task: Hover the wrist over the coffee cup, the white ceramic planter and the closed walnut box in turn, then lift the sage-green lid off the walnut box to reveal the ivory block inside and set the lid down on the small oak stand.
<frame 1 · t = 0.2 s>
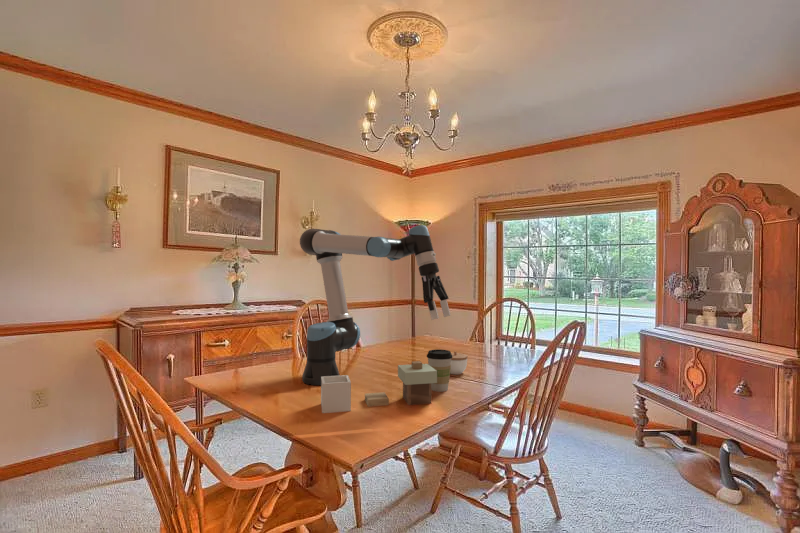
hand: (441, 317, 157), 28 cm above the table, tool tilted 15°, fingers open, 13 cm apart
walnut box: (416, 402, 143), on the table
ivory block: (416, 400, 143), point 1 cm above the table, touching walnut box
coffee cup: (439, 391, 156), on the table
lidded jar: (455, 373, 184), on the table
oak stand: (376, 404, 141), on the table
planter: (335, 409, 135), on the table
lid: (416, 379, 143), point 8 cm above the table, touching walnut box
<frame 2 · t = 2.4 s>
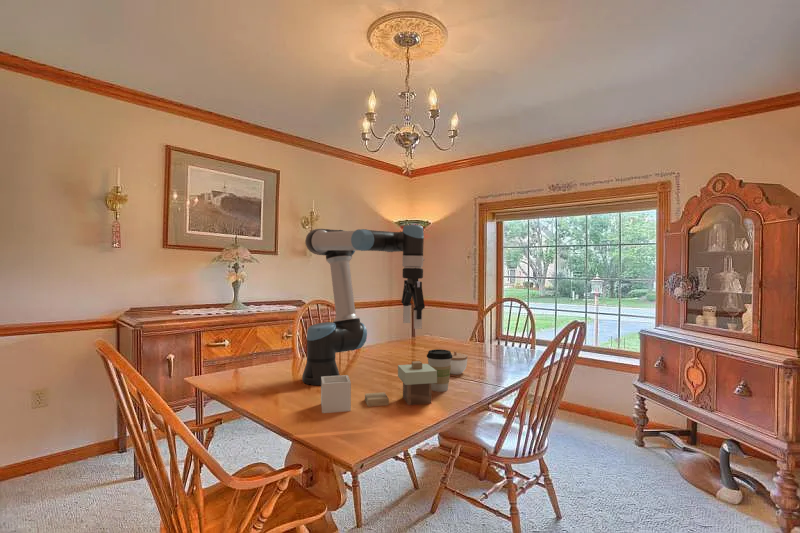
hand: (412, 325, 151), 26 cm above the table, tool pointing down, fingers open, 13 cm apart
nothing on the table moved.
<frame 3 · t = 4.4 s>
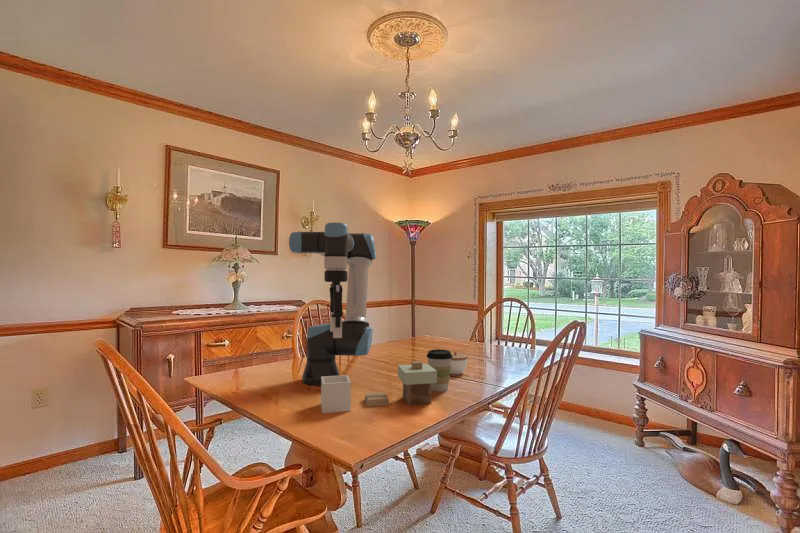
hand: (335, 334, 136), 25 cm above the table, tool pointing down, fingers open, 13 cm apart
nothing on the table moved.
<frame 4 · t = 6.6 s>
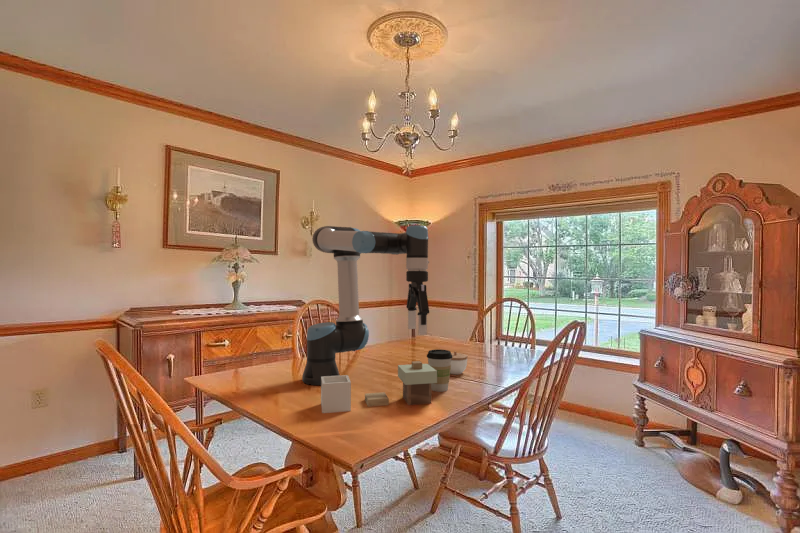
hand: (417, 331, 143), 25 cm above the table, tool pointing down, fingers open, 13 cm apart
nothing on the table moved.
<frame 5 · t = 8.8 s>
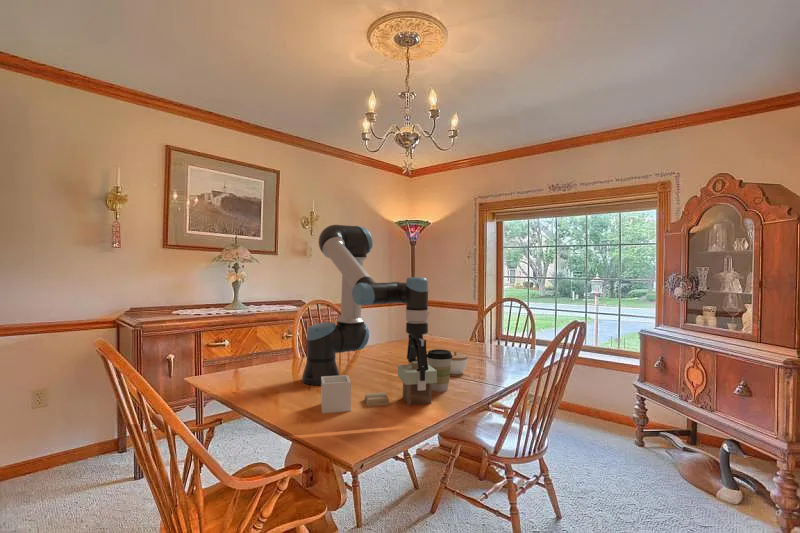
hand: (416, 385, 143), 6 cm above the table, tool pointing down, fingers closed on lid, 11 cm apart
lid: (416, 379, 143), point 8 cm above the table, touching gripper, walnut box
everything else where it was.
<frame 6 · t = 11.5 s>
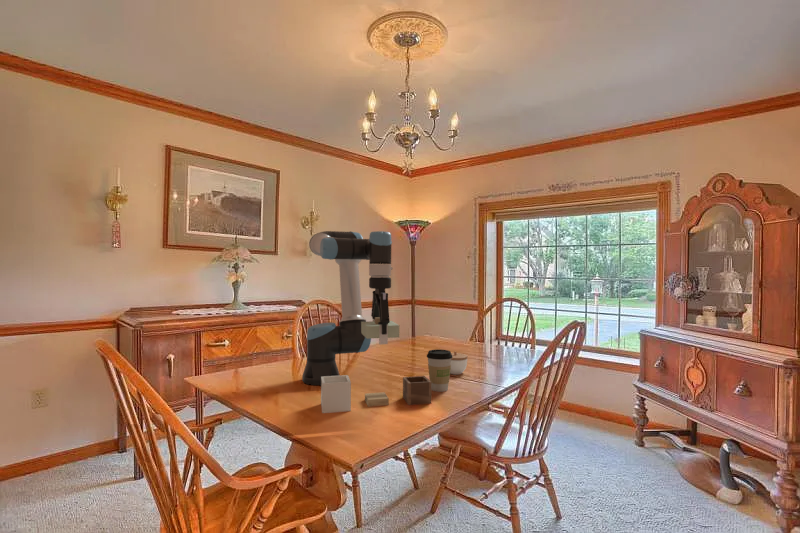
hand: (379, 340, 141), 22 cm above the table, tool pointing down, fingers closed on lid, 11 cm apart
lid: (379, 335, 141), point 24 cm above the table, touching gripper
everything else where it was.
when the fingers open (2 cm above the table, at t = 14.5 s): lid stays where it is, resting on oak stand.
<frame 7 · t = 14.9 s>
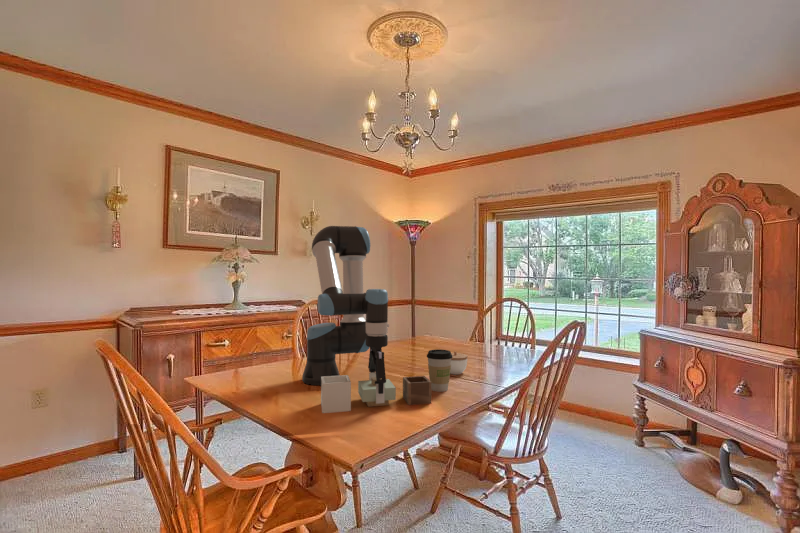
hand: (376, 396, 141), 3 cm above the table, tool pointing down, fingers open, 13 cm apart
lid: (376, 395, 141), point 3 cm above the table, touching oak stand
everything else where it was.
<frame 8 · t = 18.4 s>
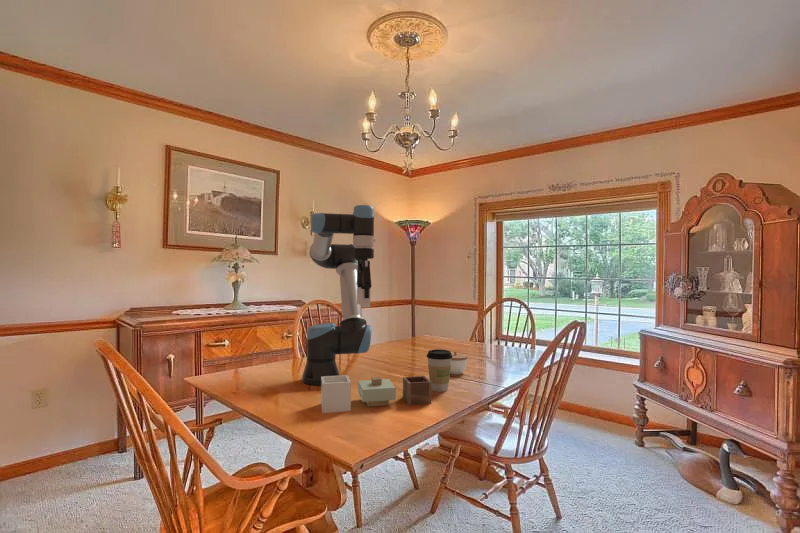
hand: (363, 306, 151), 33 cm above the table, tool pointing down, fingers open, 13 cm apart
nothing on the table moved.
at the end: lid inside the target area on the oak stand (0.0 cm from its centre), point 3.0 cm above the oak stand's base; lid moved 14.9 cm from its start; the gripper is holding nothing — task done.
